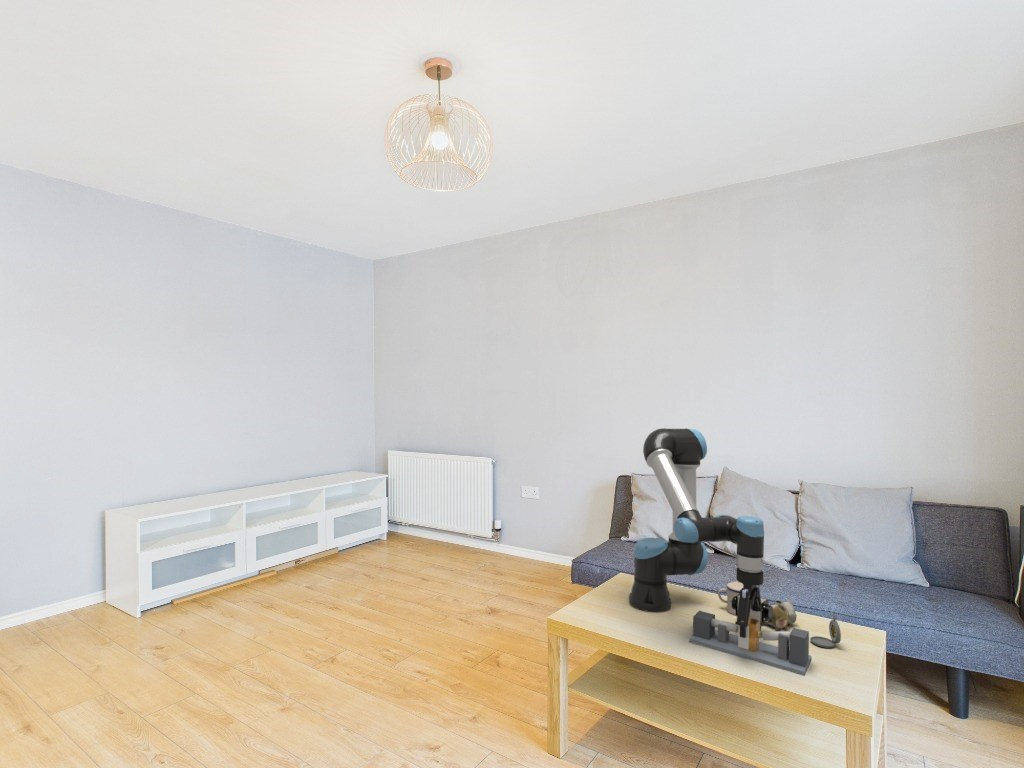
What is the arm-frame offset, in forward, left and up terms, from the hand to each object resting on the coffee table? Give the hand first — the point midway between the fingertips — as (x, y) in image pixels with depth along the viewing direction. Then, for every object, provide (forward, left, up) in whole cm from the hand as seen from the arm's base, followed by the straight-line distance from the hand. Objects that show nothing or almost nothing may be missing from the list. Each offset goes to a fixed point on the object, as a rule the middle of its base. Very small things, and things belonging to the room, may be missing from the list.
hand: (749, 639), depth 162 cm
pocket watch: (+8, +26, -3) cm, 27 cm away
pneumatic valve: (-9, +13, -3) cm, 16 cm away
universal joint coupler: (0, 0, -2) cm, 2 cm away
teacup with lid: (-23, +22, -3) cm, 32 cm away
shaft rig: (0, 0, -3) cm, 3 cm away
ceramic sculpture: (-8, +25, -4) cm, 26 cm away
